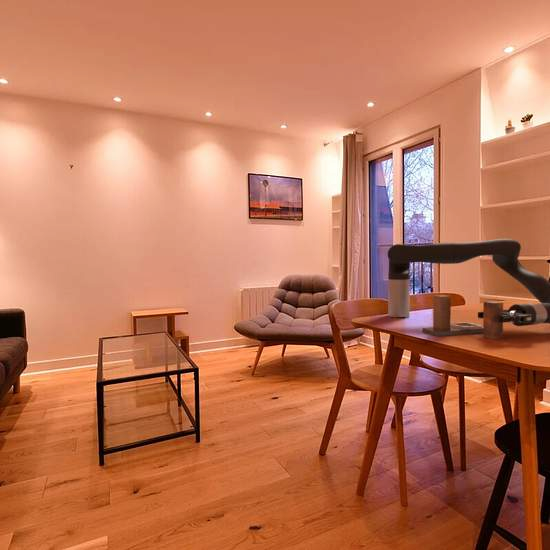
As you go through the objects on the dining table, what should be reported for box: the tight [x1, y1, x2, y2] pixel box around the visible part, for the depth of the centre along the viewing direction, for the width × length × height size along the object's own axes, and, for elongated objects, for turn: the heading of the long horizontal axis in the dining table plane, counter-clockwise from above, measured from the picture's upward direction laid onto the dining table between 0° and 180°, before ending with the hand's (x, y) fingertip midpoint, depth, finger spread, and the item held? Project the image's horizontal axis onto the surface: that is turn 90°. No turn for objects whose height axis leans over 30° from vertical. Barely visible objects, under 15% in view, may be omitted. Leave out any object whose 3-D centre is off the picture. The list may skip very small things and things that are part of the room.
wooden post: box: [482, 300, 504, 340], centre depth 124 cm, size 4×4×12 cm
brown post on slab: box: [421, 294, 483, 337], centre depth 133 cm, size 20×8×14 cm, turn 104°
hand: (488, 317), depth 123 cm, fingers open, 8 cm apart
